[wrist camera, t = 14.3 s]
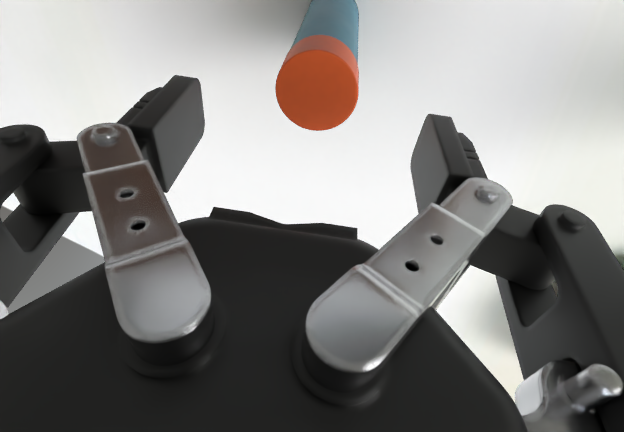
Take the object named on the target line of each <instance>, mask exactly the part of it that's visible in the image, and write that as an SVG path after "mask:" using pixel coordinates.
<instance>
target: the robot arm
mask: <svg viewBox="0 0 624 432" xmlns="http://www.w3.org/2000/svg"><path fill="white" fill-rule="evenodd" d="M204 126H205V120H204V111H203V102H202V93H201V85H200V82H199V80H198V79H197V78H191V77H185V76H178V75H175V76H173V77H172V78H171V79H170V80H169V82H168V83H167V84H166V85H165V86H164V87H163V88H162V87H159V88H156V89H154V90H152V91H150V92H147V93H146V94H145V95H144V96H143V97H142V98H141V99H140V101H139V102H137V103H136V104H135V105H134V106H133V108H131V109H130V110H129V111H128V112H127V113H126V114H125V115H124V116H123V117H122V118H121V119H120V120H119V121H118V122H117V123H102V124H96V125H93V126H90V127H88V128H86V129H84V130H82V131H81V132H80V133H79V134H78V136H77V141H59V142H49V140H48V138H47V136H46V134H45V132H44V130H43V129H42V128H40V127H38V126H34V125H12V126H7V127H3V128H0V208H1V205H2V204H3V202H4V201H5V200H6V199H7V198H8V197H9V196H10V195H11V194H12V193H14V194H15V196H16V197H17V199H18V200H19V202H20V205H19V206H18V207H17V208H16V209H15V210H14V211H13V212H12V213H11V214H10V215H9V216H8V217H7V218H6V220H5V221H4V222H2V221H1V218H0V432H624V270H623V269H622V267H621V265H620V264H619V262H618V260H617V259H616V257H615V255H614V254H613V252H612V251H611V249H610V247H609V246H608V244H607V242H606V241H605V239H604V237H603V236H602V234H601V233H600V231H599V229H598V228H597V226H596V225H595V223H594V222H593V221H592V220H591V219H589V218H588V217H587V216H586V215H584V214H583V213H581V212H579V211H577V210H575V209H573V208H570V207H567V206H563V205H549V206H547V207H545V209H544V210H543V211H542V213H541V214H540V215H537V214H534V213H532V212H529V211H526V210H523V209H520V208H518V207H515V206H513V205H512V202H513V200H512V196H511V195H510V193H509V192H508V191H507V190H506V189H505V188H504V187H502V186H501V185H499V184H498V183H496V182H494V181H491V180H488V178H487V176H486V174H485V171H484V169H483V167H482V164H481V162H480V160H479V157H478V155H477V153H475V152H476V150H475V148H474V146H473V143H472V142H471V141H470V140H469V139H468V138H467V137H466V136H465V135H464V134H463V133H458V132H457V131H456V128H455V126H454V123H453V120H452V118H451V117H447V116H441V115H434V114H428V115H427V117H426V119H425V121H424V124H423V126H422V129H421V132H420V135H419V137H418V140H417V143H416V145H415V148H414V151H413V154H412V158H411V173H412V179H413V185H414V190H415V196H416V202H417V207H418V213H419V214H418V215H417V216H416V217H415V218H414V219H413V220H412V221H411V222H409V223H408V224H407V225H406V226H405V227H404V228H403V229H402V230H401V231H399V232H398V233H397V234H396V235H395V236H394V237H393V238H392V239H391V240H390V241H388V242H387V243H386V244H385V245H384V246H383V247H382V248H381V249H380V250H378V249H377V248H375V247H373V246H372V245H370V244H368V243H366V242H364V241H361V240H359V239H357V228H352V227H345V226H338V225H332V224H325V223H311V224H281V223H278V222H275V221H273V220H270V219H267V218H264V217H261V216H258V215H256V214H253V213H250V212H244V211H238V210H231V209H224V208H217V207H214V208H213V210H212V212H211V214H210V217H204V218H196V219H192V220H187V221H184V222H181V223H177V220H176V218H175V216H174V214H173V212H172V210H171V208H170V205H169V203H168V201H167V199H166V197H165V195H164V193H163V192H165V193H167V192H168V191H169V189H170V188H171V186H172V184H173V183H174V181H175V180H176V178H177V176H178V175H179V173H180V171H181V170H182V168H183V167H184V165H185V163H186V162H187V160H188V159H189V157H190V155H191V154H192V152H193V151H194V149H195V147H196V146H197V144H198V143H199V141H200V139H201V138H202V136H203V133H204ZM86 211H92V212H93V216H94V220H95V224H96V228H97V232H98V236H99V239H100V243H101V247H102V251H103V255H104V259H105V262H104V263H103V264H101V265H99V266H97V267H95V268H93V269H91V270H89V271H88V272H86V273H84V274H82V275H80V276H78V277H77V278H75V279H73V280H71V281H69V282H67V283H66V284H64V285H62V286H60V287H58V288H56V289H54V290H53V291H51V292H49V293H47V294H45V295H44V296H42V297H40V298H38V299H36V300H34V301H32V302H30V303H29V304H27V305H25V306H23V307H21V308H19V309H18V310H16V311H14V312H12V313H10V314H9V315H8V309H7V308H8V307H9V305H10V304H11V303H12V301H13V300H14V299H15V297H16V296H17V295H18V293H19V292H20V291H21V289H22V288H23V287H24V285H25V284H26V282H27V281H28V280H29V279H30V277H31V276H32V275H33V273H34V272H35V271H36V269H37V268H38V267H39V265H40V264H41V263H42V261H43V260H44V259H45V257H46V256H47V255H48V253H49V252H50V251H51V249H52V248H53V247H54V245H55V244H56V243H57V241H58V240H59V239H60V237H61V236H62V235H63V234H64V232H65V231H66V230H67V228H68V227H69V226H70V224H71V223H72V222H73V220H74V219H75V218H76V216H77V215H78V213H79V212H86ZM470 265H472V266H474V267H477V268H479V269H482V270H484V271H487V272H489V273H492V274H494V275H496V280H497V283H498V287H499V291H500V294H501V298H502V302H503V305H504V309H505V313H506V316H507V320H508V324H509V327H510V331H511V335H512V338H513V342H514V346H515V349H516V353H517V357H518V360H519V364H520V368H521V371H522V375H523V378H524V381H523V382H521V383H520V384H519V385H518V387H517V389H516V392H515V403H514V401H513V400H512V398H511V397H510V395H509V394H508V392H507V391H506V390H505V389H504V387H503V386H502V385H501V384H500V383H499V382H498V380H497V379H496V378H495V377H494V376H493V375H492V374H491V373H490V371H489V370H488V369H487V368H486V367H485V366H484V365H483V363H482V362H481V361H480V360H479V359H478V358H477V357H476V356H475V354H474V353H473V352H472V351H471V350H470V349H469V348H468V347H467V345H466V344H465V343H464V342H463V341H462V340H461V339H460V337H459V336H458V335H457V334H456V333H455V332H454V331H453V330H452V328H451V327H450V326H449V325H448V324H447V323H446V322H445V320H444V319H443V318H442V317H441V316H440V315H439V314H438V313H437V311H436V310H437V308H438V307H439V305H440V304H441V303H442V301H443V300H444V299H445V297H446V296H447V295H448V293H449V292H450V291H451V290H452V288H453V287H454V286H455V284H456V283H457V282H458V281H459V279H460V278H461V277H462V275H463V274H464V273H465V272H466V270H467V269H468V268H469V266H470ZM554 281H556V283H557V286H558V296H556V294H555V292H554V289H553V287H552V283H553V282H554Z"/></svg>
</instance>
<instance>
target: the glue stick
mask: <svg viewBox="0 0 624 432" xmlns="http://www.w3.org/2000/svg"><path fill="white" fill-rule="evenodd" d="M358 21H359V14H358V8H357V5H356V3H355V1H354V0H312V2H311V4H310V6H309V8H308V11H307V13H306V15H305V18H304V20H303V22H302V24H301V27H300V29H299V31H298V33H297V36H296V38H295V40H294V43H293V45H292V47H291V49H290V51H289V52H288V54H287V56H286V58H285V60H284V62H283V65H282V67H281V69H280V71H279V74H278V76H277V80H276V97H277V101H278V103H279V106H280V108H281V109H282V111H283V113H284V114H285V115H286V116H287V117H288V118H289V119H290V120H291V121H292V122H293V123H295V124H297V125H298V126H300V127H302V128H305V129H309V130H316V131H318V130H327V129H331V128H334V127H336V126H338V125H340V124H341V123H343V122H344V121H345V120H346V119H347V118H348V117H349V116H350V115H351V113H352V112H353V110H354V108H355V106H356V103H357V100H358V79H359V71H358Z"/></svg>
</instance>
